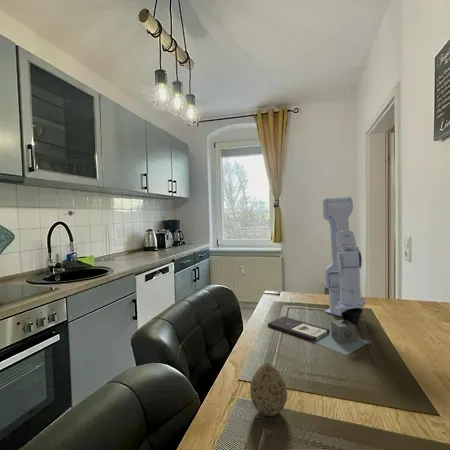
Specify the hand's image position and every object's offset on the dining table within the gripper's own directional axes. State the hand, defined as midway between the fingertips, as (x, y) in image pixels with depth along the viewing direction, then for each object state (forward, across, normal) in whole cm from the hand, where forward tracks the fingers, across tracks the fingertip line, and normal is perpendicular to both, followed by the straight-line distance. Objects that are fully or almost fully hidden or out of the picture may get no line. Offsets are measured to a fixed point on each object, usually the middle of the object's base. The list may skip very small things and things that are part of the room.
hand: (351, 331), depth 91 cm
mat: (+1, -6, 0) cm, 7 cm away
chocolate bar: (+1, -9, +14) cm, 17 cm away
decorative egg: (+2, -44, -9) cm, 45 cm away
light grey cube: (+1, -4, 0) cm, 5 cm away
